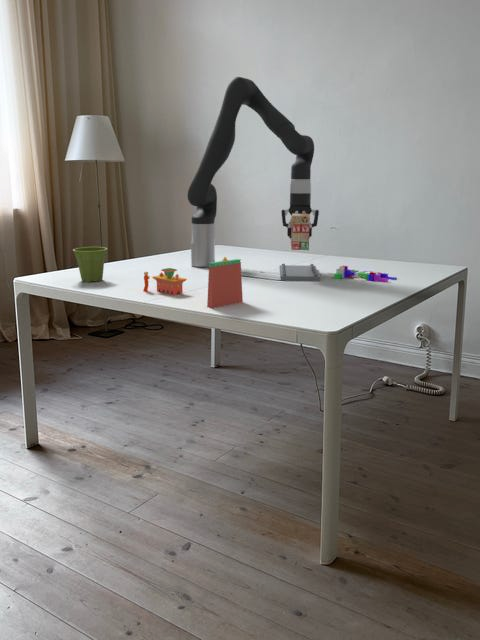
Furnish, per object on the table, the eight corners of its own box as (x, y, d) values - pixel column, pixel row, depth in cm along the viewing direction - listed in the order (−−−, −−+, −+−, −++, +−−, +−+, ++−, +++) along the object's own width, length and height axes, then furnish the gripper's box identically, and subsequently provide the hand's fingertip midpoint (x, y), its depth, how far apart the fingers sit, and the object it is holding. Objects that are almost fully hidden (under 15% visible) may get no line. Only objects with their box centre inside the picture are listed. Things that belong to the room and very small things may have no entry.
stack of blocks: (289, 243, 245) (290, 211, 242) (306, 243, 245) (306, 211, 242) (291, 249, 224) (292, 214, 222) (309, 250, 224) (310, 215, 221)
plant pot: (80, 277, 230) (78, 246, 227) (112, 277, 229) (111, 246, 226) (69, 283, 218) (68, 250, 215) (103, 283, 217) (102, 251, 215)
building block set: (404, 278, 234) (405, 266, 232) (380, 286, 218) (381, 273, 217) (344, 271, 248) (344, 260, 247) (317, 278, 232) (317, 266, 231)
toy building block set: (211, 308, 180) (211, 259, 176) (138, 292, 204) (137, 248, 200) (242, 302, 188) (242, 255, 185) (169, 287, 212) (168, 245, 209)
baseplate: (280, 280, 224) (280, 273, 224) (279, 269, 250) (279, 263, 249) (320, 280, 224) (320, 274, 223) (314, 269, 249) (315, 263, 248)
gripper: (280, 192, 226) (280, 239, 230) (321, 192, 226) (319, 239, 230) (280, 191, 234) (279, 236, 237) (319, 191, 233) (318, 237, 237)
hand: (299, 237), depth 233 cm, fingers closed on stack of blocks, 6 cm apart
